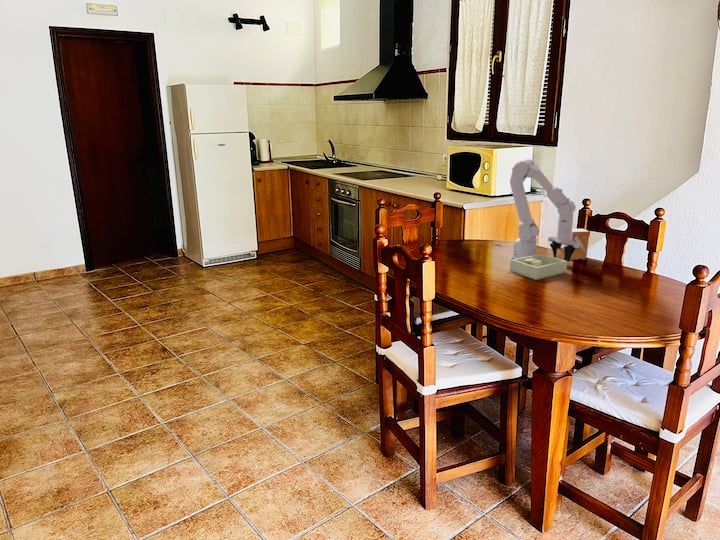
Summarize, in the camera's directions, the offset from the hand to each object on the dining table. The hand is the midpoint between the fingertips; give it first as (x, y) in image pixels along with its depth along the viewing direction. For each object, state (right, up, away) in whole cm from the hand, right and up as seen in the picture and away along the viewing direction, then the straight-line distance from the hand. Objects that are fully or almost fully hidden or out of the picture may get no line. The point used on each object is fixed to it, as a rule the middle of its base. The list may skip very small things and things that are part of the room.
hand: (561, 260), depth 235 cm
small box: (+10, +1, +11) cm, 15 cm away
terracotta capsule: (0, -2, +1) cm, 2 cm away
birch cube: (-17, -5, -11) cm, 21 cm away
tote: (-14, -5, -10) cm, 17 cm away
